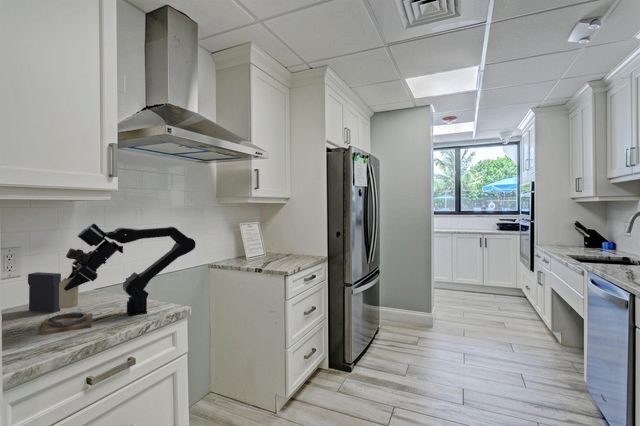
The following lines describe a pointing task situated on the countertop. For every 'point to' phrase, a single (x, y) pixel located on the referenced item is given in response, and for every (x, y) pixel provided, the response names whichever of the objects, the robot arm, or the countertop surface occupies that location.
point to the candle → (67, 295)
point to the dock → (67, 322)
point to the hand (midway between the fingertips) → (64, 288)
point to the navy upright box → (44, 292)
